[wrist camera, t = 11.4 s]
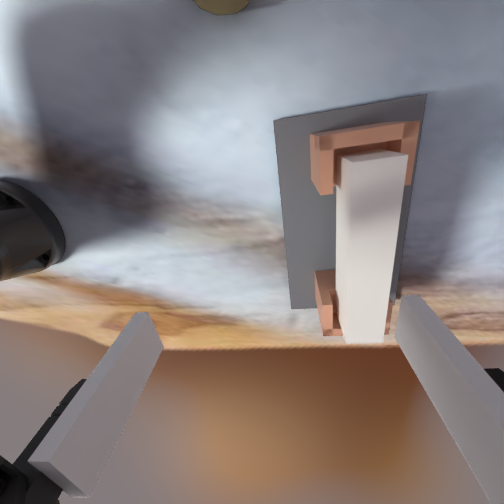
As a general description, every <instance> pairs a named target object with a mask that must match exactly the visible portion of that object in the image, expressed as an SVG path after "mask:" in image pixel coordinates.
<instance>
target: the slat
mask: <svg viewBox="0 0 504 504" xmlns="http://www.w3.org/2000/svg"><path fill="white" fill-rule="evenodd" d="M407 161H408V155H407V154H403V153H398V152H393V151H389V150H384V149H372V150H366V151H359V152H352V153H345V154H338V155H337V185H336V302H335V309H336V312H337V316H338V319H339V322H340V326H341V329H342V332H343V336H344V339H345V342H346V344H352V343H383V339H384V331H385V324H386V317H387V309H388V302H389V294H390V287H391V280H392V272H393V265H394V257H395V250H396V243H397V235H398V228H399V220H400V213H401V206H402V198H403V191H404V183H405V176H406V169H407Z"/></svg>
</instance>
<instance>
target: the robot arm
mask: <svg viewBox="0 0 504 504" xmlns="http://www.w3.org/2000/svg"><path fill="white" fill-rule="evenodd" d="M64 250H65V239H64V234H63V231H62V229H61V226H60V224H59V222H58V221H57V219H56V218H55V216H54V215H53V213H52V212H51V211H50V210H49V208H48V207H47V206H46V205H45V204H44V203H43V202H42V201H41V200H40V199H38V198H37V197H36V196H35V195H33V194H32V193H30V192H29V191H27V190H25V189H24V188H22V187H20V186H18V185H15V184H12V183H9V182H5V181H0V281H3V280H7V279H11V278H15V277H19V276H23V275H27V274H31V273H35V272H39V271H42V270H44V269H46V268H48V267H50V266H51V265H53V264H55V263H56V262H58V261H59V260H60V259H61V257H62V256H63V253H64ZM394 337H395V339H396V341H397V342H398V344H399V346H400V348H401V349H402V351H403V352H404V354H405V356H406V358H407V360H408V361H409V363H410V365H411V367H412V368H413V370H414V372H415V373H416V375H417V377H418V379H419V380H420V382H421V384H422V386H423V387H424V389H425V391H426V393H427V394H428V396H429V398H430V399H431V401H432V403H433V405H434V406H435V408H436V410H437V412H438V413H439V415H440V417H441V418H442V420H443V422H444V424H445V425H446V427H447V429H448V430H449V432H450V434H451V436H452V437H453V439H454V441H455V443H456V444H457V446H458V448H459V449H460V451H461V453H462V455H463V457H464V458H465V460H466V462H467V463H468V465H469V467H470V469H471V470H472V472H473V474H474V476H475V477H476V479H477V481H478V483H479V484H480V486H481V488H482V489H483V491H484V493H485V495H486V496H487V498H488V500H489V502H490V503H491V504H504V372H503V371H502V370H500V369H499V368H495V369H483V368H482V367H481V366H480V365H479V363H478V362H477V361H476V360H475V359H474V358H473V357H472V355H471V354H470V353H469V352H468V351H467V349H466V348H464V346H463V345H462V344H461V343H460V341H459V340H458V339H457V338H456V337H455V336H454V334H453V333H452V332H451V331H450V330H449V329H448V328H447V326H446V325H445V324H444V323H443V322H442V321H441V319H440V318H439V317H438V316H437V315H436V314H435V313H434V311H433V310H432V309H431V308H430V307H429V306H428V305H427V303H426V302H425V301H424V300H423V299H422V298H421V296H420V295H407V296H402V297H401V303H400V308H399V314H398V320H397V325H396V331H395V336H394ZM163 347H164V346H163V344H162V342H161V340H160V337H159V335H158V333H157V331H156V329H155V326H154V324H153V322H152V320H151V318H150V315H149V313H148V312H142V313H135V314H134V315H133V317H132V318H131V320H130V321H129V322H128V324H127V325H126V326H125V328H124V329H123V331H122V332H121V333H120V335H119V336H118V337H117V339H116V340H115V341H114V343H113V344H112V346H111V347H110V348H109V350H108V351H107V353H106V354H105V355H104V357H103V358H102V359H101V361H100V362H99V363H98V365H97V366H96V368H95V369H94V371H93V372H92V373H91V375H90V376H89V377H88V379H82V380H81V381H79V382H78V383H77V384H76V385H75V386H74V387H73V388H72V389H71V390H70V391H69V392H68V393H67V394H66V396H65V397H64V398H63V400H62V401H61V402H60V405H59V406H57V407H56V409H55V410H54V411H53V413H52V414H51V417H49V418H48V419H47V421H46V422H45V423H44V424H43V426H42V427H41V428H40V430H39V431H38V432H37V434H36V435H35V436H34V438H33V439H32V440H31V441H30V443H29V444H28V445H27V447H26V448H25V449H24V451H23V452H22V453H21V455H20V456H19V457H18V458H17V460H16V461H15V462H14V463H13V464H11V463H10V462H8V461H7V460H6V459H4V458H3V457H2V456H0V504H60V503H59V500H58V498H59V496H60V494H61V492H62V491H65V492H66V493H67V494H68V495H69V496H71V497H83V498H90V496H91V494H92V492H93V490H94V488H95V486H96V484H97V482H98V480H99V478H100V476H101V474H102V472H103V470H104V467H105V466H106V463H107V461H108V459H109V458H110V455H111V453H112V451H113V449H114V447H115V445H116V443H117V441H118V439H119V437H120V435H121V433H122V431H123V429H124V427H125V425H126V423H127V420H128V419H129V417H130V414H131V412H132V410H133V408H134V406H135V404H136V402H137V400H138V398H139V396H140V394H141V392H142V390H143V388H144V386H145V384H146V382H147V380H148V378H149V376H150V374H151V372H152V370H153V368H154V366H155V364H156V361H157V359H158V357H159V355H160V353H161V351H162V349H163Z"/></svg>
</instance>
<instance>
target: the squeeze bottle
mask: <svg viewBox="0 0 504 504" xmlns="http://www.w3.org/2000/svg"><path fill="white" fill-rule="evenodd" d="M193 1H194V2H195V3H196V4H197V5H198V6H199V7H200V8H201V9H203V10H206V11H208V12H210V13H213V14H215V15H227V14H234V13H238V12H239V11H240V10H242V9H243V8H244V7H246V6H247V4H248V3H249V1H250V0H193Z"/></svg>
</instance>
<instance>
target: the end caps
mask: <svg viewBox="0 0 504 504" xmlns="http://www.w3.org/2000/svg"><path fill="white" fill-rule="evenodd" d="M426 97H427V94H424V95H418V96H412V97H406V98H401V99H395V100H389V101H383V102H378V103H372V104H366V105H360V106H354V107H349V108H343V109H337V110H331V111H326V112H320V113H314V114H308V115H303V116H297V117H291V118H285V119H280V120H274V121H273V122H274V132H275V143H276V153H277V164H278V174H279V185H280V195H281V206H282V216H283V227H284V237H285V247H286V258H287V268H288V279H289V289H290V300H291V309H308V308H318V313H319V318H320V323H321V328H322V333H323V336H343V332H342V329H341V326H340V322H339V319H338V316H337V312H336V309H335V302H336V185H337V155H338V154H345V153H352V152H359V151H366V150H372V149H384V150H389V151H393V152H398V153H403V154H407V155H408V161H407V169H406V176H405V183H404V191H403V198H402V206H401V213H400V220H399V228H398V235H397V243H396V250H395V257H394V265H393V272H392V280H391V287H390V294H389V302H388V309H387V317H386V324H385V331H384V335H387V334H388V333H389V326H390V320H391V313H392V306H393V305H395V298H396V292H397V285H398V279H399V272H400V266H401V259H402V253H403V247H404V240H405V234H406V227H407V221H408V214H409V208H410V201H411V195H412V188H413V182H414V175H415V169H416V162H417V156H418V149H419V143H420V136H421V130H422V123H423V117H424V110H425V104H426Z"/></svg>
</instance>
